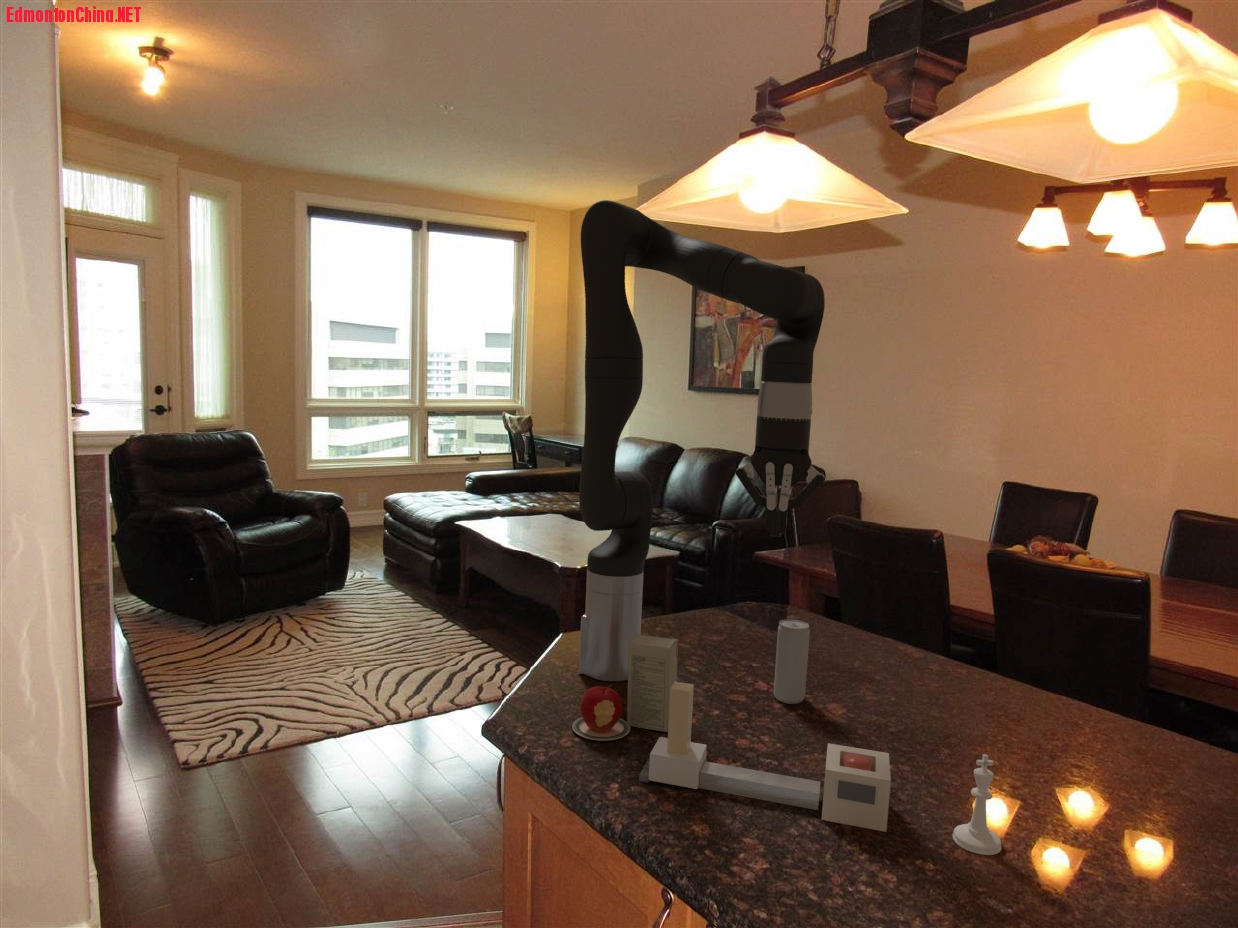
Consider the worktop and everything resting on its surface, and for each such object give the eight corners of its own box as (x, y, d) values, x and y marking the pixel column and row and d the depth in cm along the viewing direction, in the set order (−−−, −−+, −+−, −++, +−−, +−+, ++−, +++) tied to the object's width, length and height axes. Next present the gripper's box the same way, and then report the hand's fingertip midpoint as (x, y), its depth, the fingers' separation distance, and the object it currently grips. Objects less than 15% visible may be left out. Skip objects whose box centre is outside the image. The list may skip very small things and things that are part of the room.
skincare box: (676, 721, 118) (680, 638, 116) (667, 733, 114) (672, 648, 112) (633, 713, 120) (637, 632, 118) (623, 725, 116) (627, 641, 114)
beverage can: (802, 694, 130) (808, 620, 129) (806, 706, 125) (812, 629, 124) (771, 691, 131) (776, 618, 129) (774, 703, 126) (779, 627, 124)
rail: (638, 780, 100) (639, 765, 100) (649, 762, 105) (649, 747, 105) (817, 814, 94) (818, 797, 94) (819, 793, 99) (820, 777, 99)
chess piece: (944, 829, 92) (952, 744, 91) (986, 829, 93) (995, 744, 92) (966, 855, 88) (975, 766, 86) (1010, 855, 88) (1020, 766, 87)
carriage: (648, 779, 100) (653, 690, 98) (658, 761, 105) (663, 675, 103) (697, 788, 98) (702, 698, 97) (705, 769, 103) (710, 682, 102)
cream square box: (821, 820, 93) (825, 770, 92) (824, 790, 100) (827, 743, 99) (886, 832, 91) (890, 781, 90) (884, 801, 98) (888, 753, 97)
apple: (641, 731, 114) (644, 686, 113) (601, 749, 108) (603, 701, 108) (600, 713, 120) (602, 670, 119) (560, 729, 114) (562, 684, 113)
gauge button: (841, 804, 94) (844, 763, 94) (841, 791, 97) (844, 751, 97) (868, 809, 94) (871, 767, 93) (867, 796, 97) (871, 756, 96)
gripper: (733, 413, 114) (725, 535, 116) (831, 418, 111) (821, 545, 113) (740, 411, 122) (733, 526, 124) (833, 416, 118) (824, 535, 120)
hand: (775, 535), depth 118 cm, fingers closed
